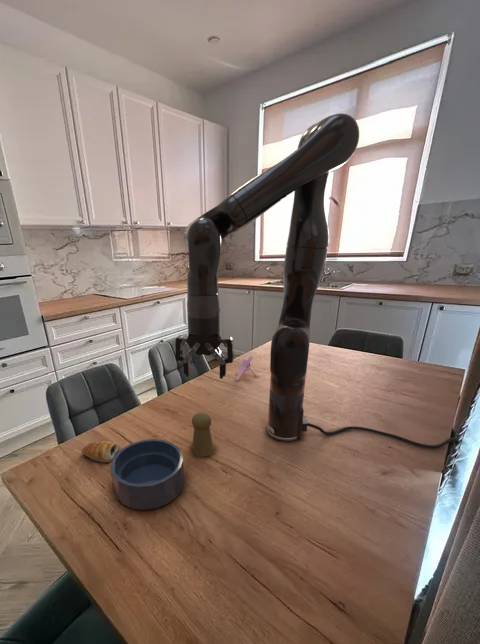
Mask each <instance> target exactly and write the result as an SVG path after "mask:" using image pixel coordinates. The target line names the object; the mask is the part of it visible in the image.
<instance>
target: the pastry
mask: <svg viewBox="0 0 480 644" xmlns="http://www.w3.org/2000/svg"><path fill="white" fill-rule="evenodd" d="M81 449H82V450H81V451H82V454H83V455H84V456H85V457H86V458H88V459H90V460H92V461H95V462H100V463H110V462H112V459H113V458H114V456H115V455H116V454H117V453H118V452H119V446H118V444H117V442H115V441H108V440H102V441H94V442H91V443H88V444H86V445H85V446H84V447H83V448H81Z"/></svg>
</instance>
